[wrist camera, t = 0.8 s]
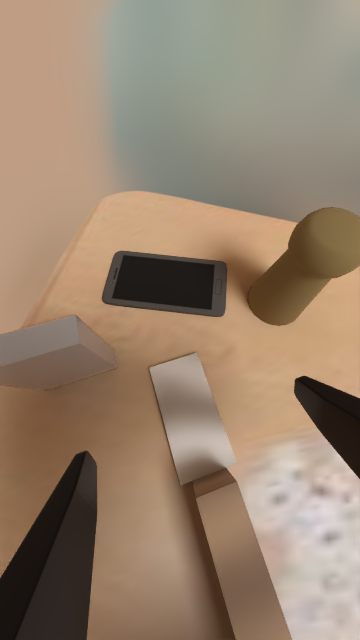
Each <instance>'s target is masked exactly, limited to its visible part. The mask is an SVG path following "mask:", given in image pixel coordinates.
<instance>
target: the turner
mask: <svg viewBox="0 0 360 640" xmlns="http://www.w3.org/2000/svg"><path fill="white" fill-rule="evenodd" d="M149 369H150V373H151V377H152V380H153V384H154V388H155V392H156V395H157V399H158V403H159V407H160V410H161V414H162V418H163V422H164V425H165V429H166V433H167V437H168V440H169V444H170V448H171V452H172V455H173V459H174V463H175V467H176V470H177V474H178V478H179V482H180V485H184V484H186V483H189V482H191V481H192V483H193V488H194V492H195V497H196V501H197V505H198V508H199V512H200V515H201V519H202V522H203V526H204V529H205V533H206V536H207V540H208V543H209V547H210V551H211V554H212V558H213V561H214V565H215V568H216V572H217V575H218V579H219V582H220V586H221V589H222V593H223V596H224V600H225V604H226V607H227V611H228V614H229V618H230V621H231V625H232V628H233V632H234V635H235V639H236V640H292V638H291V635H290V632H289V630H288V627H287V624H286V621H285V618H284V615H283V612H282V609H281V607H280V604H279V601H278V598H277V595H276V592H275V589H274V587H273V584H272V581H271V578H270V575H269V572H268V569H267V566H266V564H265V561H264V558H263V555H262V552H261V549H260V546H259V544H258V541H257V538H256V535H255V532H254V529H253V526H252V523H251V521H250V518H249V515H248V512H247V509H246V506H245V503H244V501H243V498H242V495H241V492H240V489H239V486H238V483H237V481H236V480H235V478H234V477H233V476H232V475H231V473H230V472H229V471H228V470H227V468H226V467H229V466H231V465H234V464H236V463H237V462H236V460H235V457H234V454H233V451H232V448H231V446H230V443H229V440H228V437H227V434H226V432H225V429H224V426H223V423H222V420H221V418H220V415H219V412H218V409H217V407H216V404H215V401H214V398H213V395H212V393H211V390H210V387H209V384H208V381H207V379H206V376H205V373H204V370H203V367H202V365H201V362H200V359H199V356H198V353H194V354H191V355H187V356H184V357H181V358H178V359H175V360H172V361H169V362H165V363H162V364H159V365H156V366H153V367H150V368H149Z"/></svg>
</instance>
